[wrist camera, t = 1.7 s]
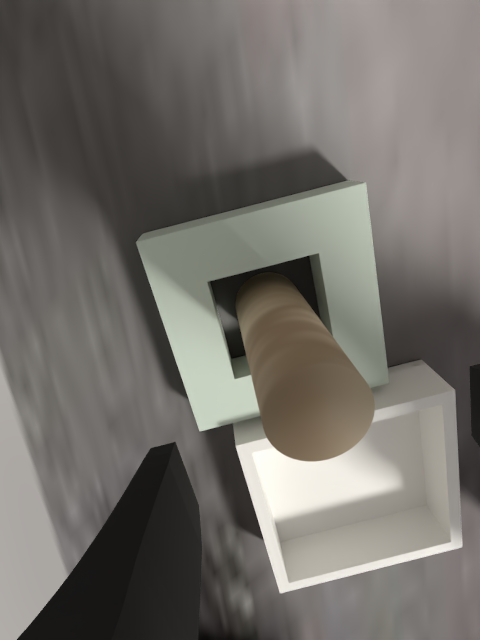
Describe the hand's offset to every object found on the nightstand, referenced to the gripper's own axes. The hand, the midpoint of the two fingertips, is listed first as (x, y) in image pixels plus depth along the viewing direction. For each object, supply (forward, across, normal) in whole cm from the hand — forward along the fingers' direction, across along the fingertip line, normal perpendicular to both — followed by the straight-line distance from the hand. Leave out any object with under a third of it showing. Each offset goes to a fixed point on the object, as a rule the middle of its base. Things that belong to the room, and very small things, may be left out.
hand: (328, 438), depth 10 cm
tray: (+10, -2, +10) cm, 14 cm away
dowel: (+10, 0, 0) cm, 10 cm away
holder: (+10, 0, 0) cm, 10 cm away
